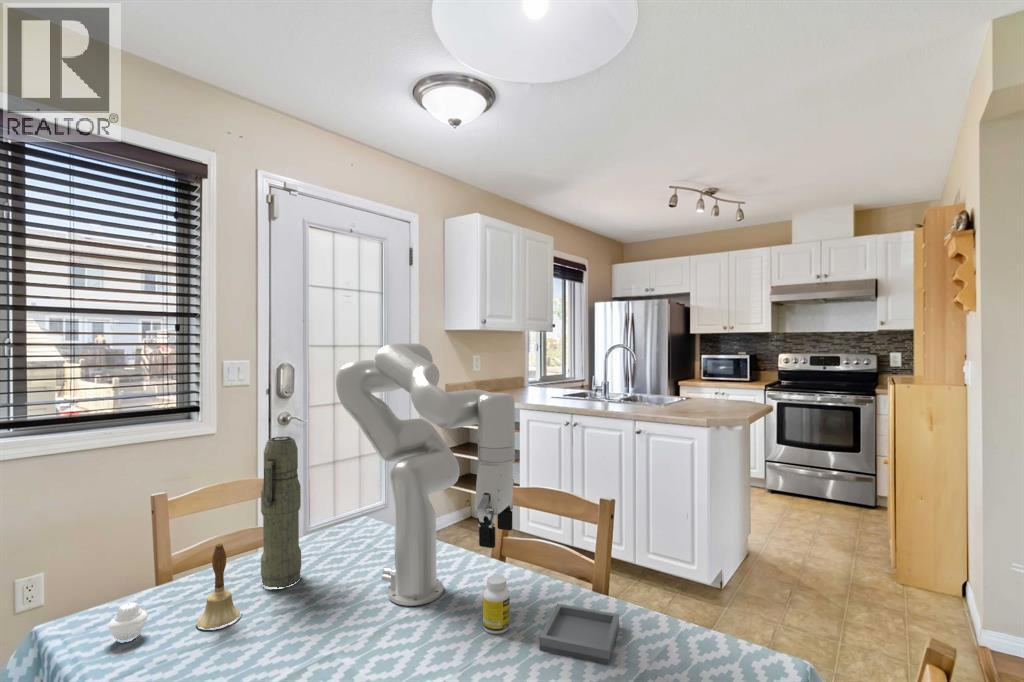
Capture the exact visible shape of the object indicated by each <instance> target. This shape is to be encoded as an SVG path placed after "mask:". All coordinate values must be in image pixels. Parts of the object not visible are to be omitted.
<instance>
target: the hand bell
mask: <svg viewBox="0 0 1024 682" xmlns="http://www.w3.org/2000/svg"><path fill="white" fill-rule="evenodd" d="M211 564H212V565H211V566H212V570H213V573H214V578H215V579H214V592H212V593H210V594H209V595H208V596H207V598H206V604H205V608H204V612H203V613H202V615H201V616H200V617H199V618H198V619H197V622H196V623H197V626H199V627H202V628H204V629H210V628H215V627H220V626H222V625H225V624H228V623H230V622H232V621H234V620H235V619H236V618H237V617H239V615H240V612H241V611H240V610H239V609H238V608H237V607H236V606H235V605H234V601H233V595H232V592H231V591H230V590H227V589H225V583H224V582H225V581H224V580H225V579H224V573H225V569H226V566H227V552H226V550H225V548H224V545H223V543H217V544H216V545H215V547H214V552H213V554H212V558H211Z"/></svg>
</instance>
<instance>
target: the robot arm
mask: <svg viewBox="0 0 1024 682" xmlns="http://www.w3.org/2000/svg"><path fill="white" fill-rule="evenodd" d="M433 362H434V361H433V355H432V354H431V351H430V350H429V349H428V348H427V347H426V346H425V345H423V344H420V343H399V342H398V343H397V342H396V343H389V344H388V343H387V344H386V345H384V346H382V347H381V348H379V349H378V350H377V352H376V353H375V356H374V359H362V360H354V361H350V362H347V363H346V364H343V365H342V366H341V367H340V368H339V370H338V372H337V373H336V377H335V388H336V389H335V390H336V393H337V396H338V397H337V398H338V399H339V401H340V403H341V405H342V407H343V408H344V410H346V412H347V413H348V414H349V416H350V417H352V419H353V420H354V421H355V423H356V424H357V425H358V426H359V427H360V430H361V431H362V432H363V434H364V435H365V437H366V439H367V441H368V442H369V443H370V445H371V446H372V448H373V449H374V451H375V453H376V454H377V456H379V458H380V459H381V460H383V461H384V462H387V463H395V462H397V463H395V464H394V465H393V466H392V467H391V470H390V472H389V486H390V490H391V491H390V492H391V495H392V496H391V497H392V502H393V503H392V504H393V512H394V513H393V514H394V515H393V517H394V518H393V519H394V524H393V525H394V569H393V568H390V567H385V568H384V569H383V571H382V575H381V581H384V582H389V583H390V586H389V587H388V590H387V597H388V599H389V600H390V601H391V602H393V603H394V604H397V605H398V606H399V605H400V606H405V607H406V606H407V607H410V606H421V605H425V604H426V605H427V604H429V603H431V602H434V601H435V600H437V599H439V598H440V597H441V595H442V594H443V592H444V584H443V582H442V581H441V580H440V579H439V578H437V515H436V510H435V508H434V506H433V504H432V503H431V501H430V495H432V494H434V493H436V492H441V491H444V490H446V489H449V488H452V487H453V486H454V485H455V484H456V483H457V482H458V480H459V478H460V465H459V462H458V460H457V458H456V456H455V454H454V452H453V451H452V450H451V448H450V446H448V444H447V443H446V442H445V440H444V439H443V438H442V436H441V435H440V434H439V432H438V430H437V429H436V428H435V426H437V427H438V428H441V429H445V430H453V429H458V428H463V427H469V426H475V425H477V462H478V467H477V474H476V485H475V487H476V488H475V507H474V508H475V512H476V516H477V519H476V520H477V523H478V546H479V547H481V548H482V547H483V548H487V549H488V548H489V549H494V548H495V547H496V526H494V525H495V521H496V516H497V529H498V530H502V531H503V530H505V531H512V530H513V508H514V505H513V500H514V469H513V467H514V466H513V463H514V462H515V460H516V458H515V455H516V454H515V453H516V451H515V450H516V449H515V448H516V447H515V446H516V442H515V441H516V439H515V438H516V434H515V432H516V431H515V429H516V427H515V426H516V425H515V424H516V420H515V417H516V414H515V413H516V412H515V409H516V406H515V405H516V404H515V397H514V396H513V394H511V393H507V392H489V391H488V390H483V389H478V388H477V389H465V390H464V389H463V390H454V391H445V390H443V389H441V388H439V387H438V383H439V381H440V370H439V368H438V366H437V365H436V364H434V363H433ZM399 389H403V390H404V391H406V392H407V393H409V395H410V399H411V402H412V405H413V407H414V408H415V410H416V412H417V413H418V414H419V415H420V416H421V417H422V418H411V419H400V418H398V416H397V415H396V414H395V413H394V412H393V410H392V409H391V407H390V406H389V405H388V404H387V403H386V402H385V401H383V400H382V399H380V398H378V396H375V395H374V394H376V393H385V392H394V391H396V390H399ZM423 418H424V419H423ZM428 421H429V422H428ZM431 423H432V424H433V425H435V426H433V425H432V424H431ZM488 516H489V517H490V519H489V517H488Z"/></svg>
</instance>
